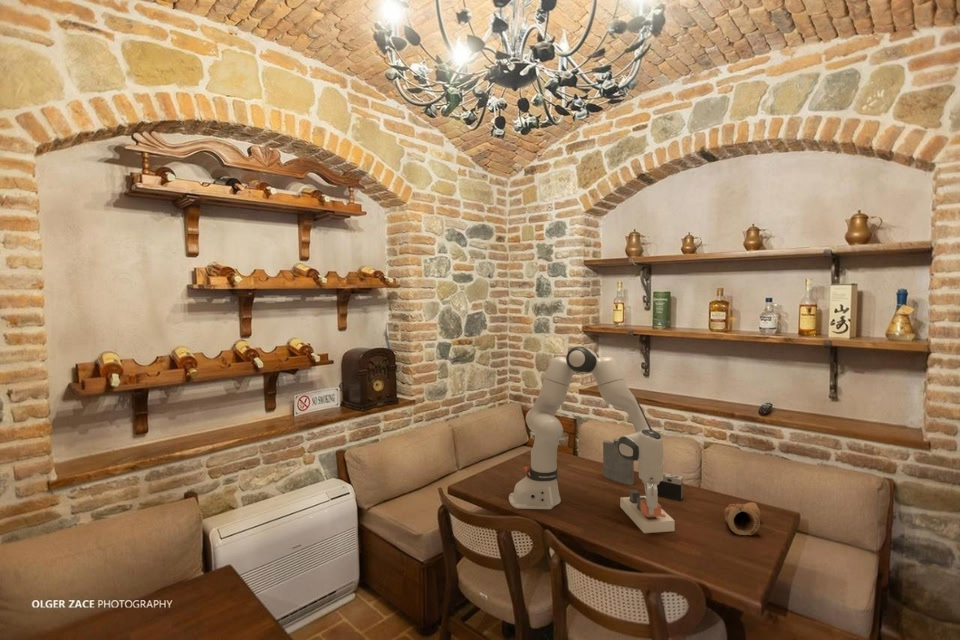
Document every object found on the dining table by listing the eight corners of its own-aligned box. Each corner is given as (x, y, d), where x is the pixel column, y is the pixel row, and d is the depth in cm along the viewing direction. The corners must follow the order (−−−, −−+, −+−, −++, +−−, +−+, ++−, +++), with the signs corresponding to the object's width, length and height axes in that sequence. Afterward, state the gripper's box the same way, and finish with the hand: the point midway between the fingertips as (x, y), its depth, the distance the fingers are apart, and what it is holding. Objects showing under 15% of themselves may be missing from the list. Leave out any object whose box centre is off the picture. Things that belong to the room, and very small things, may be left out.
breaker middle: (640, 511, 185) (640, 500, 185) (637, 508, 188) (637, 497, 188) (647, 511, 186) (647, 500, 185) (644, 508, 189) (644, 497, 188)
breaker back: (632, 504, 192) (632, 493, 192) (629, 500, 195) (629, 490, 195) (639, 503, 193) (639, 492, 192) (636, 500, 196) (636, 489, 195)
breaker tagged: (648, 528, 179) (648, 517, 178) (645, 525, 182) (645, 513, 181) (656, 528, 179) (656, 516, 179) (652, 524, 182) (652, 513, 182)
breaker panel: (644, 533, 176) (644, 521, 176) (620, 506, 198) (620, 496, 197) (674, 531, 177) (674, 519, 177) (647, 505, 199) (647, 494, 199)
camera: (685, 494, 208) (685, 472, 208) (680, 501, 202) (680, 478, 201) (653, 487, 217) (653, 466, 216) (647, 493, 210) (647, 471, 210)
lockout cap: (646, 516, 177) (646, 506, 177) (640, 509, 183) (640, 499, 182) (661, 516, 177) (661, 505, 177) (654, 509, 183) (654, 499, 183)
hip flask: (634, 483, 221) (635, 442, 220) (630, 486, 218) (630, 444, 217) (605, 474, 233) (605, 434, 232) (600, 476, 230) (600, 436, 229)
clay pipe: (712, 533, 183) (741, 540, 168) (706, 504, 185) (733, 508, 171) (753, 525, 187) (784, 531, 173) (746, 497, 189) (776, 501, 175)
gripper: (662, 485, 168) (661, 522, 169) (657, 464, 188) (657, 498, 189) (643, 483, 170) (643, 520, 171) (640, 463, 190) (640, 496, 190)
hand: (650, 508), depth 180 cm, fingers closed on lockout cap, 6 cm apart
